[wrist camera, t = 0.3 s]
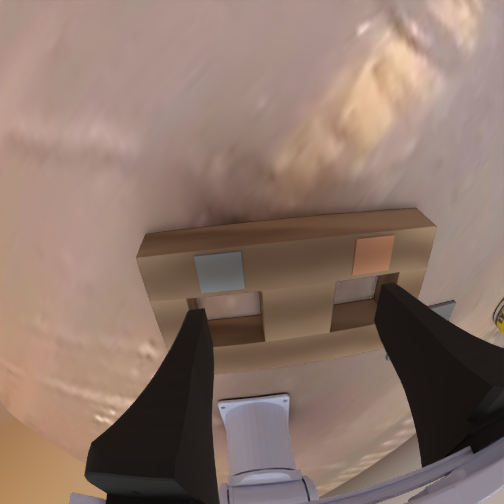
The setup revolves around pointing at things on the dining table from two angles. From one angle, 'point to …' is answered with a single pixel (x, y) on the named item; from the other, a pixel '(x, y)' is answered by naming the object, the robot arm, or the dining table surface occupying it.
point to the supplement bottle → (500, 317)
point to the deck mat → (441, 311)
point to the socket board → (286, 282)
